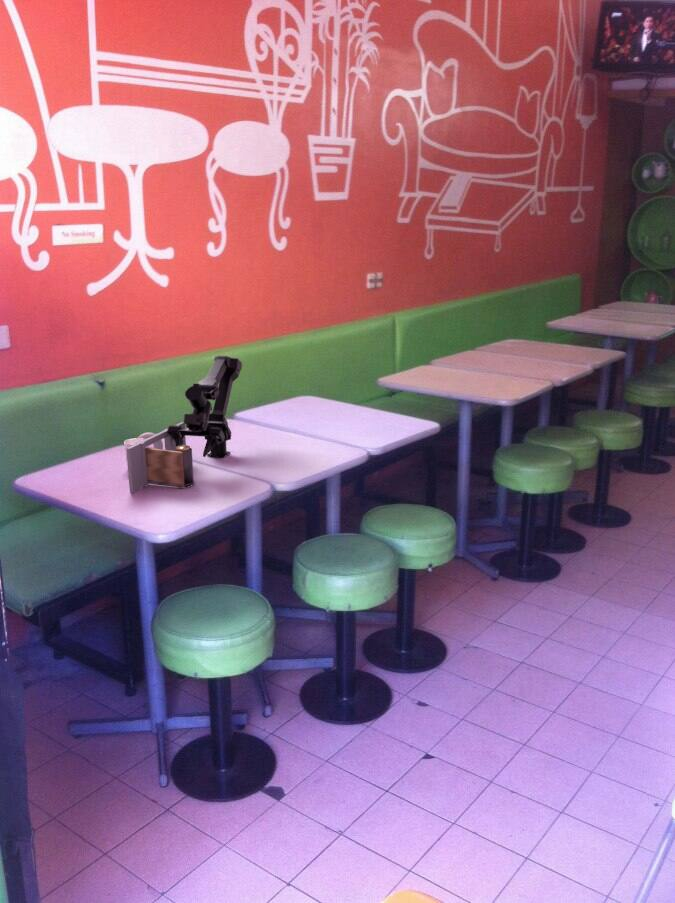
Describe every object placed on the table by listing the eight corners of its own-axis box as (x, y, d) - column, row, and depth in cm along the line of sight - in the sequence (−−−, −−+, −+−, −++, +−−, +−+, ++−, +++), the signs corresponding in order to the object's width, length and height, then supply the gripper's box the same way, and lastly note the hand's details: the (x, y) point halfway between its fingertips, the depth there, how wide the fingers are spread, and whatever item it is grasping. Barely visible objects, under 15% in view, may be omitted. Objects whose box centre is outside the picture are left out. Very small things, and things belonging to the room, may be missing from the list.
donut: (135, 460, 307) (133, 434, 304) (136, 458, 310) (134, 431, 307) (163, 460, 308) (161, 433, 305) (164, 457, 311) (162, 430, 308)
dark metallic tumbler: (184, 480, 287) (182, 443, 283) (198, 483, 283) (196, 446, 279) (172, 485, 282) (169, 447, 278) (185, 488, 279) (183, 450, 275)
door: (145, 483, 282) (142, 448, 278) (147, 482, 283) (145, 447, 280) (182, 488, 277) (180, 452, 274) (184, 487, 278) (182, 451, 275)
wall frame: (182, 462, 306) (180, 421, 301) (188, 462, 305) (186, 422, 300) (128, 492, 275) (124, 448, 271) (134, 493, 274) (131, 448, 270)
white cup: (152, 469, 297) (150, 442, 295) (131, 473, 293) (128, 445, 290) (144, 463, 304) (142, 436, 301) (122, 467, 299) (120, 440, 297)
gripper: (167, 402, 288) (156, 442, 281) (220, 404, 284) (210, 446, 277) (177, 418, 298) (167, 458, 291) (228, 421, 294) (219, 461, 287)
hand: (190, 455), depth 286 cm, fingers open, 9 cm apart
